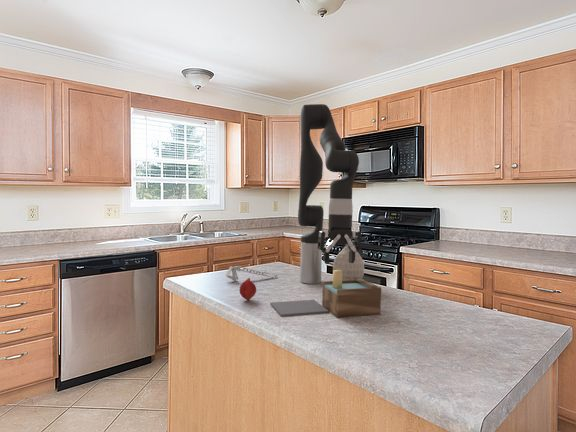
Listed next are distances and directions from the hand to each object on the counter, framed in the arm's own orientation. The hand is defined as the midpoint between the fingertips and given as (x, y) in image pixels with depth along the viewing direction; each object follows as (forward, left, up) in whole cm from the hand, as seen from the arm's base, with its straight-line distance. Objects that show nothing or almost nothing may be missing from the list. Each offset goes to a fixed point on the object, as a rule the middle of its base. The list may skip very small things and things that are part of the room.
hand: (339, 263), depth 119 cm
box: (0, +5, -16) cm, 16 cm away
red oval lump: (-19, -26, -16) cm, 36 cm away
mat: (-6, -11, -16) cm, 20 cm away
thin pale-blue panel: (0, +4, -9) cm, 10 cm away
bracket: (-50, -18, -16) cm, 56 cm away
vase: (-29, +18, -16) cm, 38 cm away
